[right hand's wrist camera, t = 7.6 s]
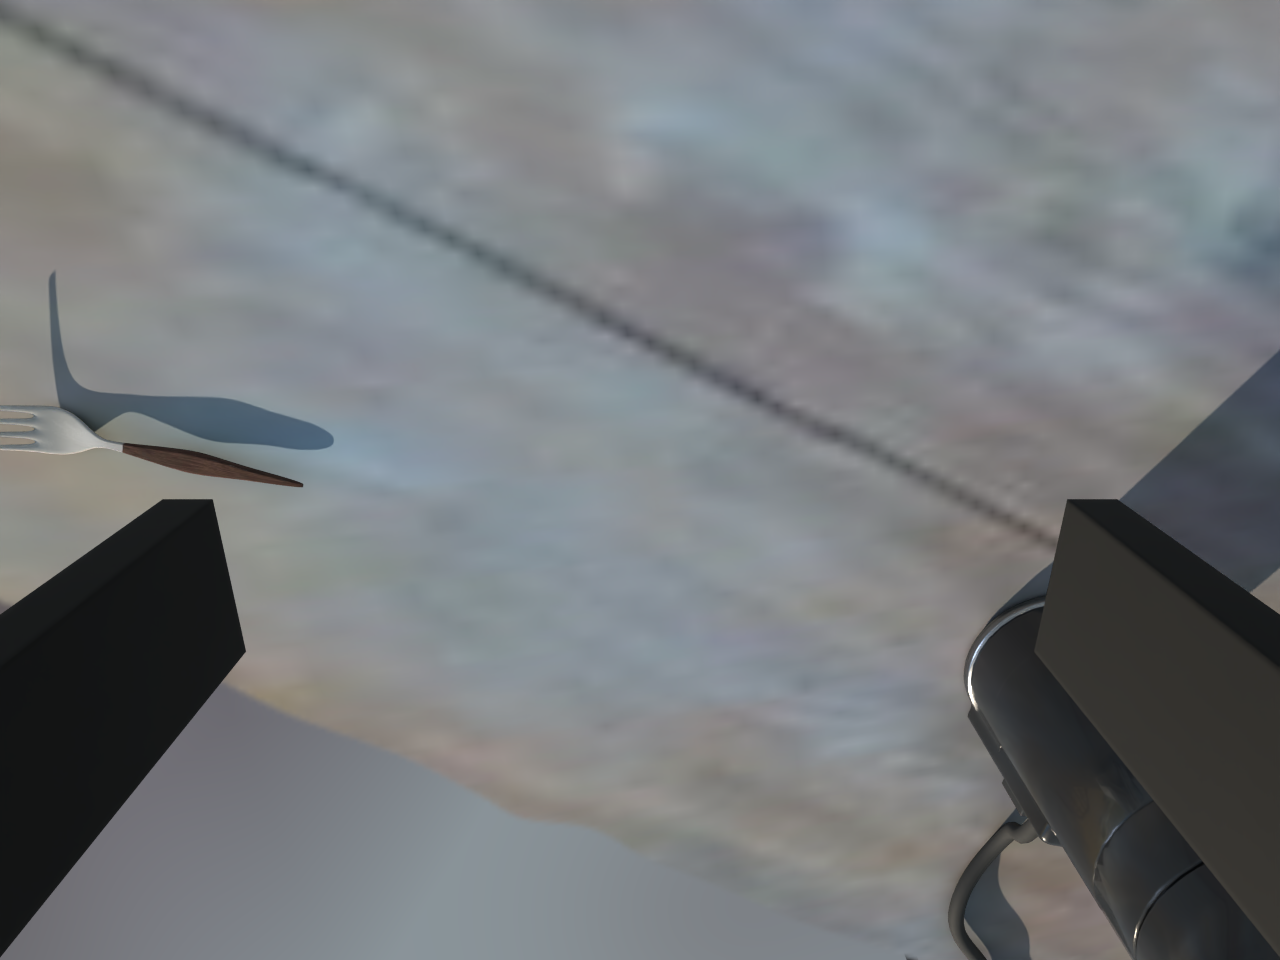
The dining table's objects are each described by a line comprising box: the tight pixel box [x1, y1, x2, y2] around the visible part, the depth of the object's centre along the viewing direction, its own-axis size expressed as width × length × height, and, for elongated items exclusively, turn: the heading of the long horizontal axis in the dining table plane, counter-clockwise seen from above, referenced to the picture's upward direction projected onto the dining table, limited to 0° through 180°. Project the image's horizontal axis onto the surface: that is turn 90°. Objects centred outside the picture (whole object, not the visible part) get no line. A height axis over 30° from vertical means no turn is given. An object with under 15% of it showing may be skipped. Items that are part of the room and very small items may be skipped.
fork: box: [0, 405, 303, 487], centre depth 40 cm, size 3×16×2 cm, turn 77°
